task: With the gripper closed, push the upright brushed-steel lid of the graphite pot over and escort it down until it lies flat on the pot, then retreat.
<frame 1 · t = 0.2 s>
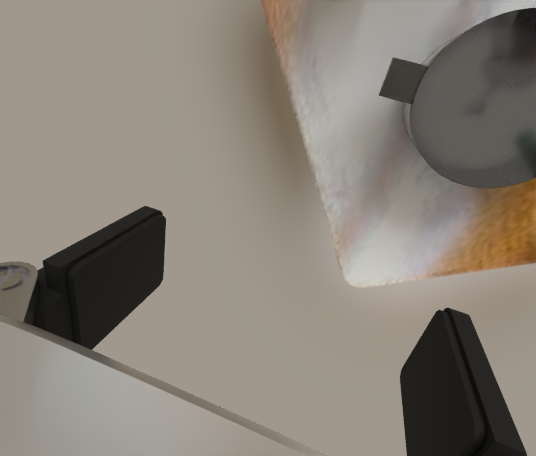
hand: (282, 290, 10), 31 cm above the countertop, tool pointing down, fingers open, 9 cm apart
pot: (471, 102, 32), on the countertop
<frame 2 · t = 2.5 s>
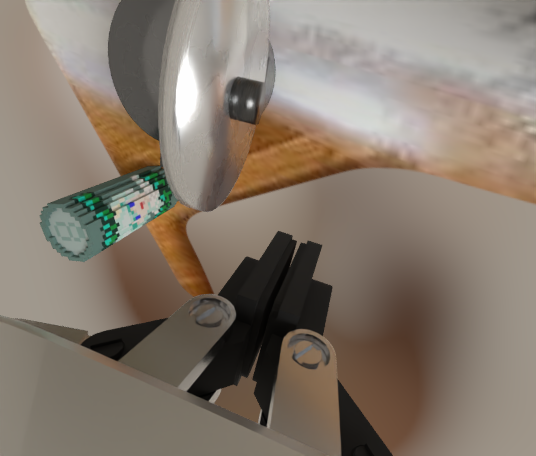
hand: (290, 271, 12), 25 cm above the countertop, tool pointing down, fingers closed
can: (160, 187, 43), on the countertop
pot: (218, 72, 34), on the countertop
lid: (241, 98, 19), point 16 cm above the countertop, hinge at 95.0°
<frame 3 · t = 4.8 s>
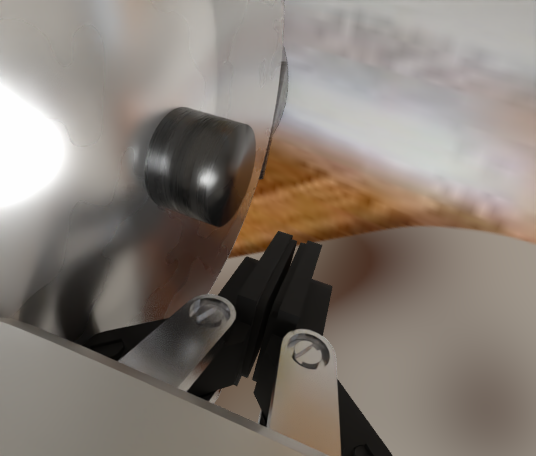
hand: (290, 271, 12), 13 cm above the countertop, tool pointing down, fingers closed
pot: (203, 81, 23), on the countertop
lid: (196, 158, 8), point 16 cm above the countertop, hinge at 88.0°, touching gripper
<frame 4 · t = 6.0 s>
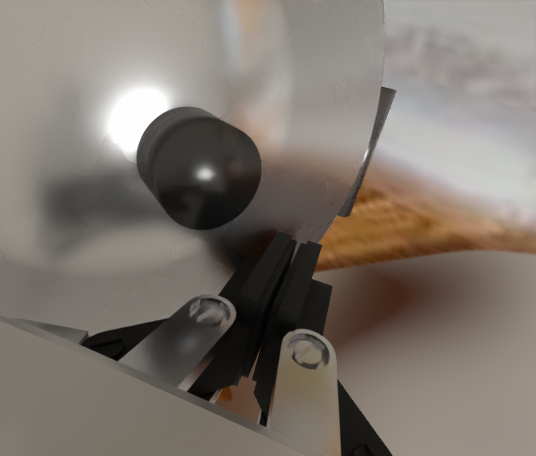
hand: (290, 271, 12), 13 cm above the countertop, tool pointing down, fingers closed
lid: (206, 161, 8), point 15 cm above the countertop, hinge at 51.7°, touching gripper
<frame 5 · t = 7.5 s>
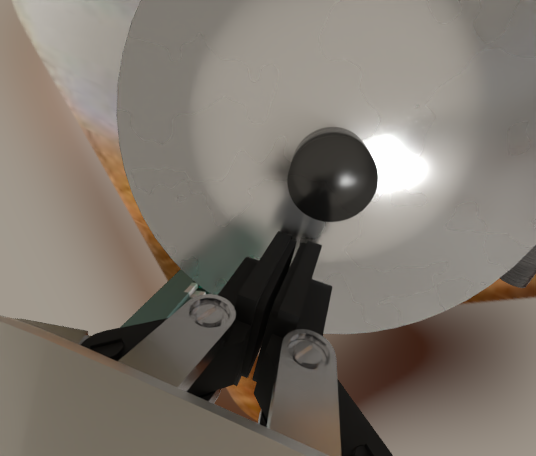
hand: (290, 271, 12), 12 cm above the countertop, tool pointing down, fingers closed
can: (218, 281, 29), on the countertop
lid: (343, 172, 10), point 12 cm above the countertop, hinge at 9.0°, touching gripper
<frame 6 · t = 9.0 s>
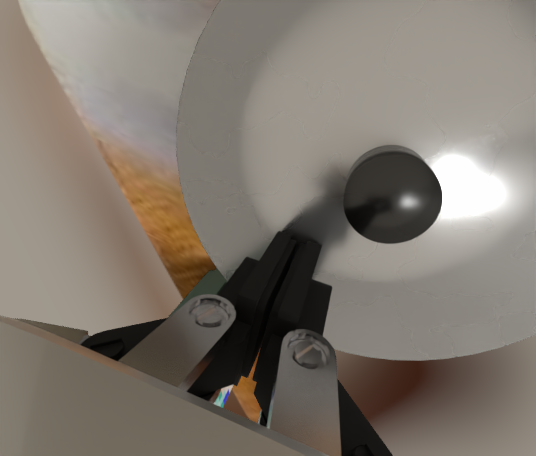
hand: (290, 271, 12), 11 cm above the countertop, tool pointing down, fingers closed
can: (234, 296, 27), on the countertop
lid: (401, 191, 9), point 11 cm above the countertop, hinge at 1.9°, touching gripper
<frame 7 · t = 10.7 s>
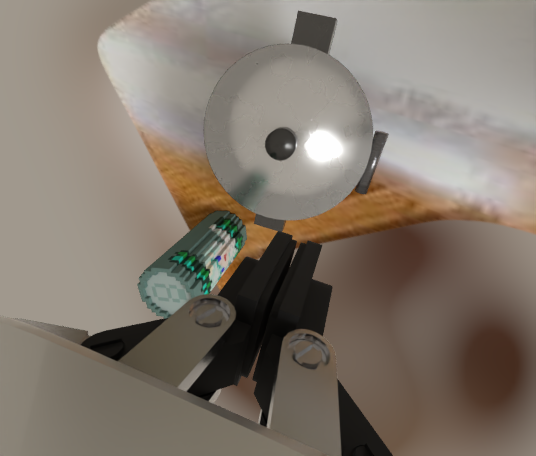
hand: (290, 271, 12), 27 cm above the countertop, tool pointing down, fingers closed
can: (225, 230, 43), on the countertop
pot: (303, 126, 35), on the countertop
lid: (287, 143, 25), point 11 cm above the countertop, hinge at 1.9°
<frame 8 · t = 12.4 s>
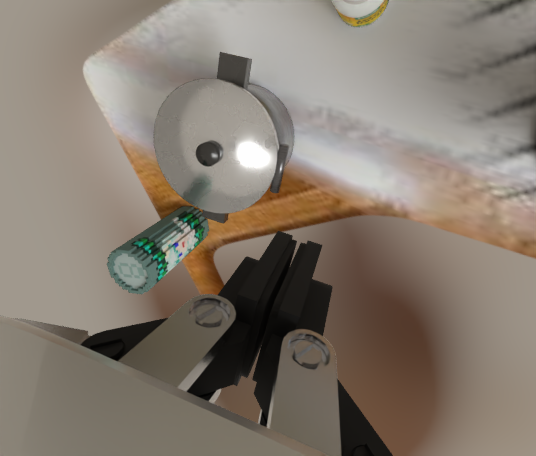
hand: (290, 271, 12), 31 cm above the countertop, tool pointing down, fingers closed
can: (192, 223, 51), on the countertop
pot: (247, 136, 42), on the countertop
lid: (215, 153, 33), point 11 cm above the countertop, hinge at 1.9°
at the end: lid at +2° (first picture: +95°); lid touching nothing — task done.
